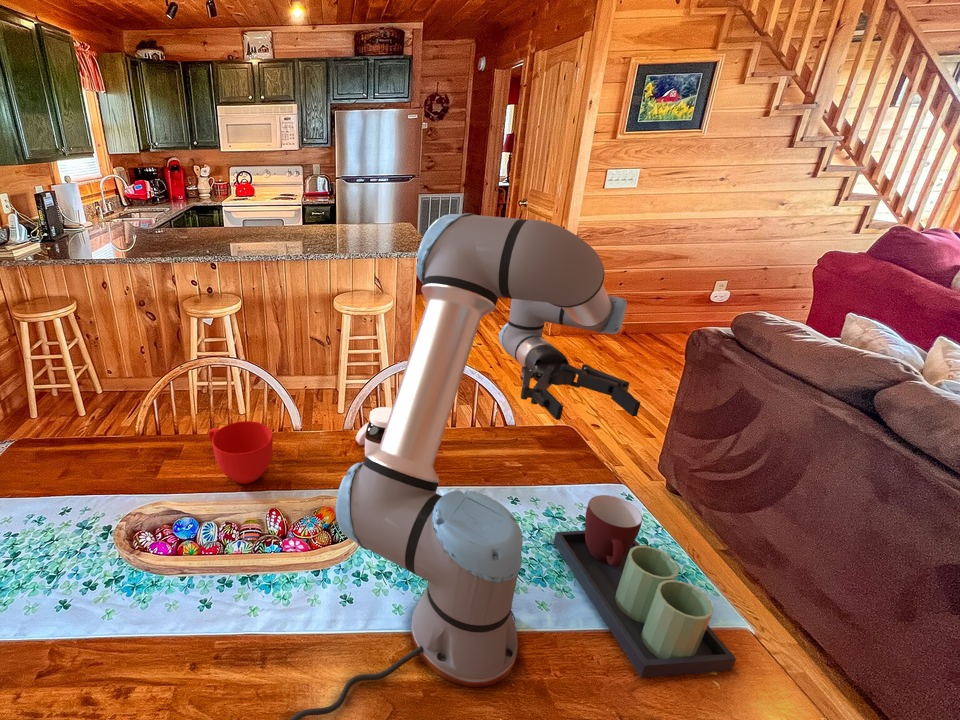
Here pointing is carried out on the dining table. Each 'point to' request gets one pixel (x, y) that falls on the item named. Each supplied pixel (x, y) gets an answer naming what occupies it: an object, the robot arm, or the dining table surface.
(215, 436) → the ceramic cup
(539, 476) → the dining table surface
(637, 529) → the mug
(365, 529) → the robot arm
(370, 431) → the spread jar
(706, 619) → the cup
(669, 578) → the cup
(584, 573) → the tray
